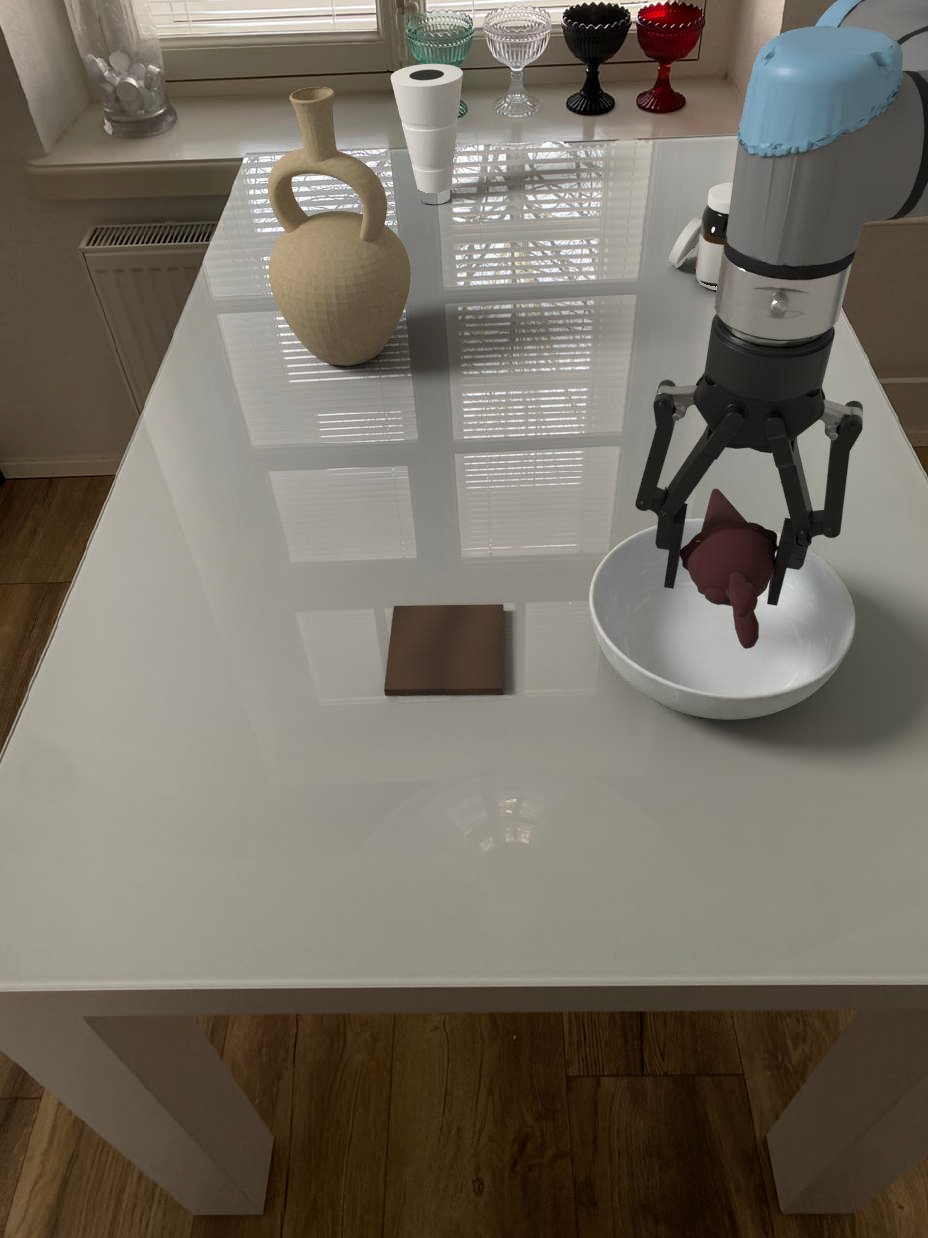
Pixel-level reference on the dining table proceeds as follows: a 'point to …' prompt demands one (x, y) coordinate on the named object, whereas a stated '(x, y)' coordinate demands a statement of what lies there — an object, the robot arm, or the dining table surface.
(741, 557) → the beetroot
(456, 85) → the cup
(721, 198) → the spread jar
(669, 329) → the dining table surface
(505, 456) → the dining table surface
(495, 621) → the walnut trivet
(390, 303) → the vase
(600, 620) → the serving bowl
